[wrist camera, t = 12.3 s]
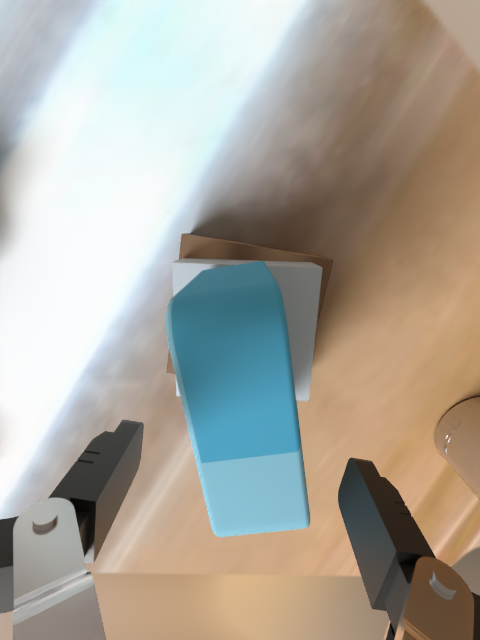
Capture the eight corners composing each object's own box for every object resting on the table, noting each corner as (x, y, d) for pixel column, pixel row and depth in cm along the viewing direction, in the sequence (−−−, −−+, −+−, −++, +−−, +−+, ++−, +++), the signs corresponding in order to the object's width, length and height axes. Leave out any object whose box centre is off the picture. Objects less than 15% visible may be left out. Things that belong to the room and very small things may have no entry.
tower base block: (320, 256, 30) (333, 260, 26) (292, 373, 34) (299, 394, 30) (191, 233, 30) (181, 233, 26) (177, 354, 34) (166, 372, 29)
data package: (282, 403, 25) (314, 545, 14) (229, 409, 26) (216, 555, 14) (263, 258, 22) (283, 287, 11) (202, 267, 22) (157, 307, 11)
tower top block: (311, 262, 26) (322, 267, 22) (300, 378, 29) (308, 401, 25) (183, 258, 26) (171, 262, 22) (185, 374, 29) (176, 396, 25)
